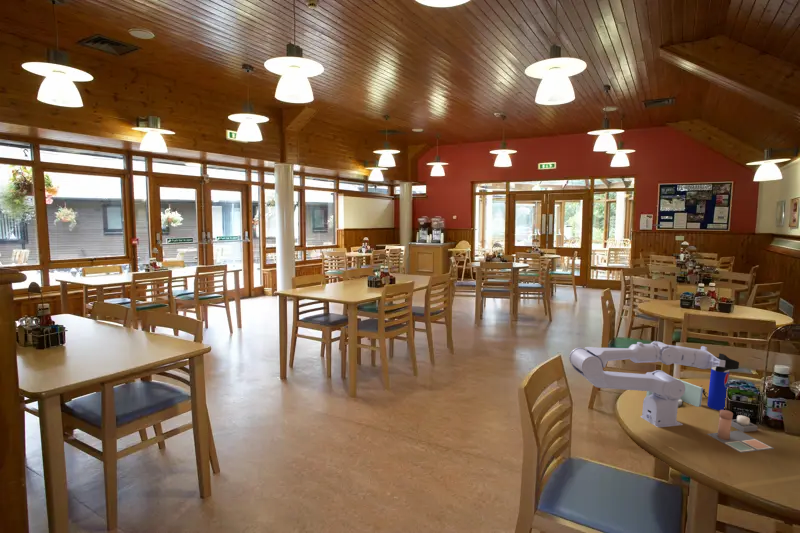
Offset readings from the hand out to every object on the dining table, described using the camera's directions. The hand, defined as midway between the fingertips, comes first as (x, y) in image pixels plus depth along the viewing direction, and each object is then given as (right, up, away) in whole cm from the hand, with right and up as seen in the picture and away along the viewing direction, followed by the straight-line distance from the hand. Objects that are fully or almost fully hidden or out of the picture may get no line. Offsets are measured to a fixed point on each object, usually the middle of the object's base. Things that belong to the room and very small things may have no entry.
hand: (727, 363), depth 150 cm
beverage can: (+4, -18, +12) cm, 22 cm away
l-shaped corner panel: (-8, -18, +16) cm, 26 cm away
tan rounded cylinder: (-8, -20, -10) cm, 24 cm away
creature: (+5, -17, +22) cm, 28 cm away
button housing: (+2, -20, -3) cm, 20 cm away
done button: (+2, -18, -3) cm, 19 cm away
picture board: (-5, -21, -12) cm, 25 cm away
